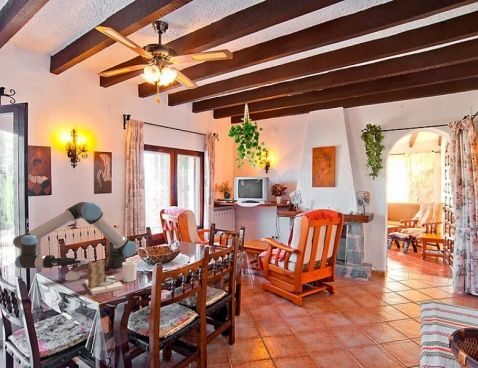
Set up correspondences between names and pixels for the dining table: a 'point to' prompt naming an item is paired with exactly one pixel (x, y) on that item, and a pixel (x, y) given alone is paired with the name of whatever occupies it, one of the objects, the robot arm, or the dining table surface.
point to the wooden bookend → (98, 275)
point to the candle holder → (129, 271)
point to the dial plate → (105, 287)
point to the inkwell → (75, 273)
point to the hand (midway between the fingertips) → (86, 261)
